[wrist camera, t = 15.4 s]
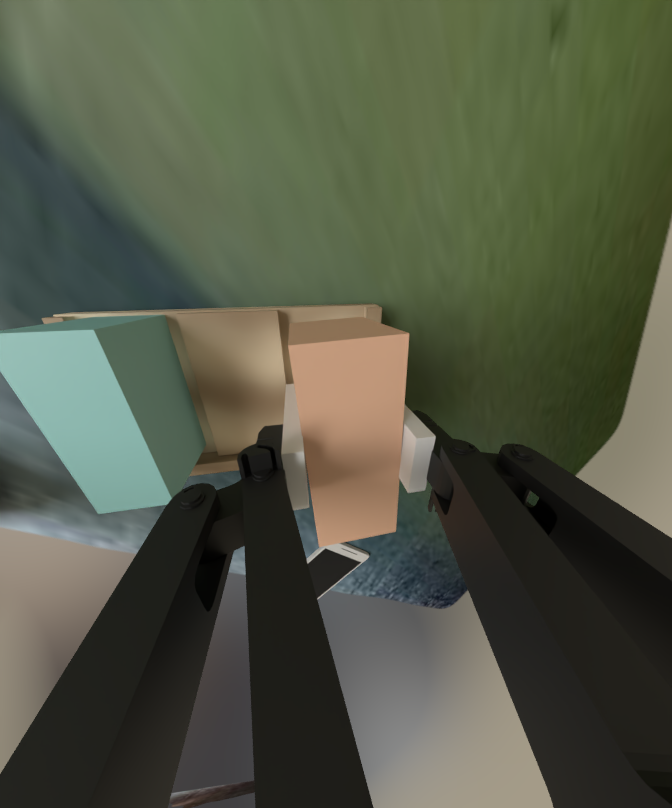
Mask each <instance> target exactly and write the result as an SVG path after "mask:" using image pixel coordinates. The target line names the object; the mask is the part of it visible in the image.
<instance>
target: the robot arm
mask: <svg viewBox="0 0 672 808" xmlns="http://www.w3.org/2000/svg"><path fill="white" fill-rule="evenodd" d="M237 462H238V466H239V470H240V474H241V478H242V480H240V481H238V482H237V483H235V484H233V485H230V486H228V487H225V488H222V489H220V490H217V491H216V489H215V487H214V486H212V485H210V484H204V483H200V484H196V485H192V486H189V487H187V488H185V489H183V490H181V491H180V492H179V493H177V494H176V495H175V496H174V497H173V498H172V499H171V500H170V501H169V503H168V504H167V506H166V508H165V509H164V511H163V513H162V514H161V516H160V517H159V519H158V521H157V522H156V524H155V525H154V527H153V529H152V530H151V532H150V533H149V535H148V537H147V538H146V540H145V542H144V543H143V545H142V546H141V548H140V550H139V551H138V553H137V554H136V556H135V558H134V559H133V561H132V563H131V564H130V566H129V567H128V569H127V571H126V572H125V574H124V575H123V577H122V579H121V580H120V582H119V584H118V585H117V587H116V588H115V590H114V592H113V593H112V595H111V597H110V598H109V600H108V601H107V603H106V604H105V606H104V608H103V609H102V611H101V613H100V614H99V616H98V618H97V619H96V621H95V622H94V624H93V626H92V627H91V629H90V630H89V632H88V634H87V635H86V637H85V639H84V640H83V642H82V643H81V645H80V646H79V648H78V650H77V651H76V653H75V655H74V656H73V658H72V659H71V661H70V663H69V664H68V666H67V667H66V669H65V671H64V672H63V674H62V676H61V677H60V679H59V680H58V682H57V684H56V685H55V687H54V688H53V690H52V692H51V693H50V695H49V696H48V698H47V700H46V701H45V703H44V704H43V706H42V708H41V709H40V711H39V713H38V714H37V716H36V717H35V719H34V721H33V722H32V724H31V725H30V727H29V729H28V730H27V732H26V734H25V735H24V737H23V738H22V740H21V742H20V743H19V745H18V747H17V748H16V750H15V751H14V753H13V754H12V756H11V758H10V759H9V761H8V763H7V764H6V766H5V768H4V769H3V771H2V772H1V774H0V808H168V804H169V800H170V796H171V792H172V788H173V784H174V781H175V777H176V773H177V769H178V765H179V761H180V757H181V753H182V749H183V746H184V742H185V738H186V734H187V730H188V726H189V722H190V718H191V715H192V711H193V707H194V703H195V699H196V695H197V691H198V687H199V684H200V679H201V676H202V672H203V668H204V664H205V660H206V656H207V652H208V649H209V645H210V641H211V637H212V633H213V629H214V625H215V621H216V618H217V614H218V610H219V606H220V602H221V598H222V594H223V590H224V586H225V582H226V579H227V575H228V571H229V567H230V563H231V559H232V555H233V552H234V550H236V549H238V548H240V547H243V546H245V566H246V590H247V613H248V636H249V662H250V682H251V683H250V685H251V709H252V731H253V732H252V733H253V755H254V756H253V757H254V781H255V804H256V808H373V805H372V801H371V797H370V794H369V790H368V786H367V783H366V779H365V775H364V771H363V768H362V764H361V760H360V756H359V753H358V749H357V745H356V742H355V738H354V734H353V730H352V727H351V723H350V719H349V716H348V712H347V708H346V704H345V701H344V697H343V694H342V690H341V686H340V682H339V678H338V675H337V671H336V667H335V664H334V660H333V656H332V652H331V649H330V645H329V642H328V638H327V634H326V630H325V627H324V623H323V619H322V616H321V612H320V608H319V605H318V601H317V597H316V593H315V589H314V586H313V582H312V578H311V575H310V571H309V567H308V563H307V560H306V556H305V552H304V549H303V545H302V541H301V537H300V534H299V530H298V526H297V523H296V519H295V515H294V511H293V510H297V509H304V508H309V498H308V485H307V472H306V459H305V452H304V444H303V436H302V432H301V426H300V420H299V413H298V407H297V400H296V394H295V387H294V384H286V392H285V406H284V421H283V424H280V425H270V426H264V427H263V428H262V429H261V430H260V432H259V433H258V438H257V442H256V444H253V445H250V446H248V447H247V448H245V449H243V450H242V451H241V452H240V453H239V454H238V457H237ZM399 478H400V480H401V482H402V483H403V485H404V487H405V489H406V490H407V492H408V493H411V492H418V491H425V488H426V483H427V480H428V482H429V483H430V484H431V486H432V491H431V496H430V500H429V505H428V511H429V512H431V511H432V507H433V504H434V506H435V508H436V509H435V512H437V513H438V516H439V518H440V521H441V523H442V526H443V528H444V531H445V533H446V536H447V538H448V541H449V543H450V546H451V548H452V551H453V553H454V556H455V558H456V561H457V563H458V566H459V568H460V571H461V573H462V576H463V578H464V581H465V583H466V586H467V588H468V591H469V593H470V596H471V598H472V601H473V603H474V606H475V608H476V611H477V613H478V616H479V618H480V621H481V623H482V626H483V628H484V631H485V633H486V636H487V638H488V641H489V643H490V646H491V648H492V651H493V653H494V656H495V658H496V661H497V663H498V666H499V668H500V670H501V673H502V676H503V678H504V681H505V683H506V686H507V688H508V691H509V693H510V696H511V698H512V701H513V703H514V706H515V708H516V711H517V713H518V716H519V718H520V721H521V723H522V726H523V728H524V731H525V733H526V736H527V738H528V741H529V743H530V746H531V748H532V751H533V753H534V756H535V758H536V761H537V763H538V766H539V768H540V771H541V774H542V776H543V778H544V781H545V784H546V786H547V788H548V792H549V794H550V797H551V800H552V803H553V807H554V808H672V538H671V537H669V536H667V535H665V534H664V533H663V532H661V531H660V530H658V529H656V528H655V527H653V526H652V525H650V524H649V523H647V522H646V521H644V520H643V519H641V518H639V517H638V516H636V515H635V514H633V513H632V512H630V511H628V510H627V509H625V508H624V507H622V506H621V505H619V504H618V503H616V502H614V501H613V500H611V499H610V498H608V497H607V496H605V495H604V494H602V493H600V492H599V491H597V490H596V489H594V488H592V487H591V486H589V485H588V484H586V483H585V482H583V481H582V480H580V479H579V478H577V477H576V476H574V475H572V474H571V473H569V472H568V471H566V470H565V469H563V468H562V467H560V466H558V465H557V464H555V463H554V462H552V461H551V460H549V459H548V458H546V457H544V456H543V455H541V454H540V453H538V452H537V451H535V450H533V449H531V448H528V447H526V446H524V445H520V444H519V445H518V444H505V445H502V447H501V449H500V452H499V454H493V453H483V452H480V451H479V450H478V449H477V448H476V447H475V446H474V445H472V444H470V443H468V442H466V441H462V440H457V439H452V438H451V437H450V436H449V435H448V434H447V433H446V432H445V431H443V430H442V429H441V428H440V427H439V426H437V424H436V423H435V422H434V421H432V419H431V418H430V417H429V416H428V415H426V414H424V413H422V412H420V411H418V410H416V411H411V410H410V409H409V408H408V407H407V406H406V405H405V404H404V419H403V434H402V448H401V463H400V471H399ZM531 491H532V492H533V493H535V494H536V495H537V496H538V497H539V500H538V502H537V504H536V505H535V506H533V505H531V504H529V503H528V502H527V499H528V497H529V495H530V493H531Z"/></svg>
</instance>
